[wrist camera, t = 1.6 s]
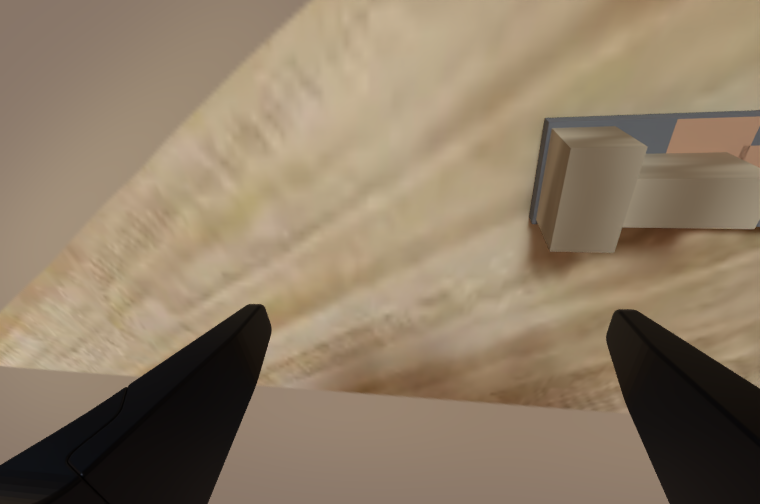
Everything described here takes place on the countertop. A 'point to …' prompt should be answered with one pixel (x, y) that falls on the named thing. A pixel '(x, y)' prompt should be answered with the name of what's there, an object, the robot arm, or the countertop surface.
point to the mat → (668, 136)
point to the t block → (637, 190)
